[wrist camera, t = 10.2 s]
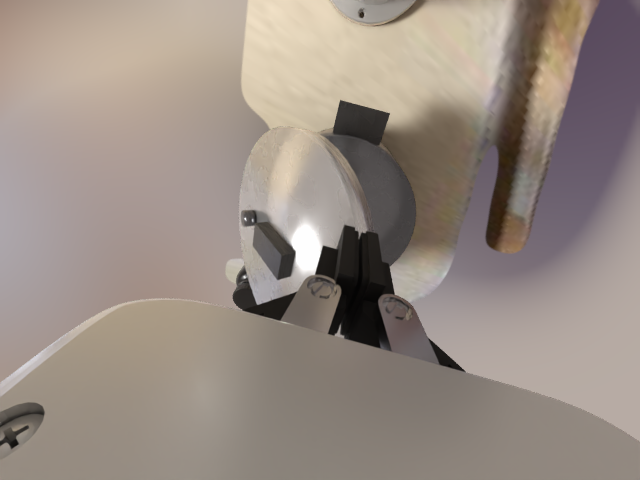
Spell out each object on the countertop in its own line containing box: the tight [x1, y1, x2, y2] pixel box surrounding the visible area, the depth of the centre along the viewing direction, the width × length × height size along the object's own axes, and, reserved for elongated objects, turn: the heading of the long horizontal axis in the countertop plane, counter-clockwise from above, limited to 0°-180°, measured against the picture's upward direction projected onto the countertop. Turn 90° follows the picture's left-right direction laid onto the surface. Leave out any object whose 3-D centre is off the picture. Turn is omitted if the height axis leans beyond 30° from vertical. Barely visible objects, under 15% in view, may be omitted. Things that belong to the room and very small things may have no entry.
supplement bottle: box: [233, 264, 257, 310], centre depth 41 cm, size 7×7×12 cm
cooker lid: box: [239, 127, 375, 338], centre depth 21 cm, size 19×19×3 cm
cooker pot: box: [318, 100, 416, 267], centre depth 33 cm, size 24×18×12 cm
